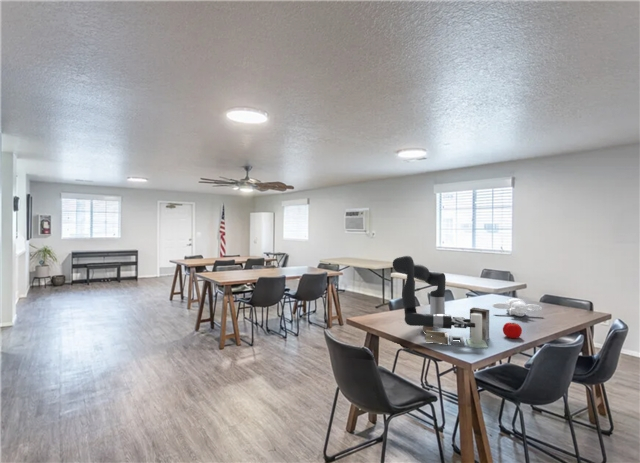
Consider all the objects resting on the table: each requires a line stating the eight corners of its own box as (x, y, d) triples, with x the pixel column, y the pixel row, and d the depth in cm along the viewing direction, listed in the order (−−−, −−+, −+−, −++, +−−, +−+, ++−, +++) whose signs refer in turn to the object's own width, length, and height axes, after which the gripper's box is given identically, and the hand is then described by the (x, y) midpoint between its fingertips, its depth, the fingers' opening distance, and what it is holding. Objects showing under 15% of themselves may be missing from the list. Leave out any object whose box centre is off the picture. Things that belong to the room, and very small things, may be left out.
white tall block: (470, 340, 189) (470, 312, 190) (481, 341, 188) (481, 313, 188) (471, 343, 184) (471, 315, 184) (483, 344, 182) (482, 315, 183)
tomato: (500, 337, 197) (500, 322, 198) (506, 333, 205) (506, 319, 205) (518, 341, 191) (518, 325, 191) (524, 337, 198) (524, 322, 198)
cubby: (426, 336, 200) (426, 330, 200) (446, 338, 196) (446, 332, 196) (425, 343, 188) (425, 336, 188) (447, 345, 184) (447, 338, 184)
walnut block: (423, 332, 209) (423, 322, 209) (430, 332, 209) (430, 322, 209) (425, 334, 205) (425, 324, 205) (432, 334, 204) (432, 324, 204)
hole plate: (449, 338, 196) (449, 335, 196) (462, 339, 194) (462, 336, 194) (450, 345, 184) (450, 342, 184) (464, 346, 182) (464, 343, 182)
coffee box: (469, 337, 198) (469, 309, 198) (473, 334, 203) (472, 307, 203) (486, 340, 192) (486, 311, 192) (489, 337, 197) (489, 309, 197)
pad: (466, 340, 193) (466, 338, 193) (484, 341, 190) (484, 340, 190) (468, 346, 182) (468, 345, 182) (487, 348, 179) (487, 346, 179)
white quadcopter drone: (490, 313, 255) (490, 298, 255) (511, 308, 271) (511, 294, 271) (525, 321, 234) (526, 304, 234) (546, 315, 251) (546, 300, 251)
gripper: (442, 317, 184) (475, 319, 180) (441, 311, 198) (472, 313, 193) (442, 331, 184) (476, 334, 180) (441, 324, 198) (472, 326, 193)
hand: (474, 323), depth 187 cm, fingers open, 8 cm apart
